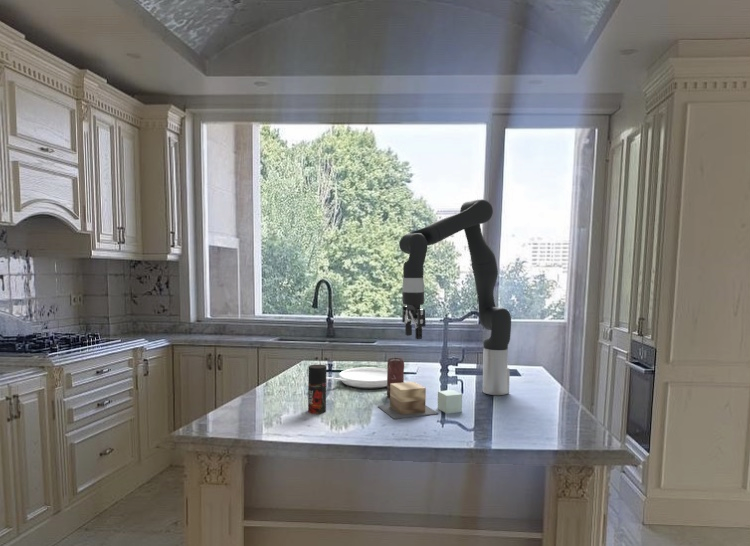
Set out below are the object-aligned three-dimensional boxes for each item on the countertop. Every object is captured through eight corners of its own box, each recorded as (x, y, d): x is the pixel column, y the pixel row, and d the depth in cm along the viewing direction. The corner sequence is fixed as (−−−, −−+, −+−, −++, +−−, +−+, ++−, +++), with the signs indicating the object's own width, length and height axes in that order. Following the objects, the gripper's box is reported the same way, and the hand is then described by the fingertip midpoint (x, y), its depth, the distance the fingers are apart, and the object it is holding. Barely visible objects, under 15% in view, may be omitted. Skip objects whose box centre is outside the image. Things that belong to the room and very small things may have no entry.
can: (402, 399, 174) (403, 361, 174) (385, 398, 176) (386, 360, 175) (405, 394, 180) (405, 358, 180) (388, 393, 181) (389, 357, 181)
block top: (413, 393, 167) (413, 381, 167) (425, 399, 158) (425, 387, 158) (390, 395, 163) (390, 383, 163) (400, 402, 155) (400, 390, 155)
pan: (411, 385, 195) (411, 373, 195) (330, 399, 174) (330, 386, 174) (376, 373, 216) (376, 363, 216) (300, 384, 194) (300, 372, 194)
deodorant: (328, 409, 161) (329, 365, 161) (321, 414, 155) (321, 368, 155) (313, 407, 163) (313, 363, 163) (304, 412, 157) (305, 367, 157)
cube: (452, 406, 166) (453, 389, 166) (461, 411, 160) (462, 394, 160) (437, 408, 164) (437, 391, 164) (446, 413, 158) (446, 395, 158)
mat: (419, 402, 170) (419, 401, 170) (438, 414, 157) (438, 413, 157) (377, 406, 165) (377, 405, 165) (393, 419, 152) (393, 418, 152)
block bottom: (413, 404, 167) (413, 393, 167) (425, 411, 158) (425, 399, 158) (389, 406, 164) (390, 395, 163) (400, 414, 155) (400, 402, 155)
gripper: (432, 291, 161) (432, 339, 161) (414, 289, 174) (414, 333, 174) (411, 292, 158) (412, 341, 158) (395, 290, 171) (395, 334, 172)
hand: (413, 337), depth 166 cm, fingers open, 8 cm apart
